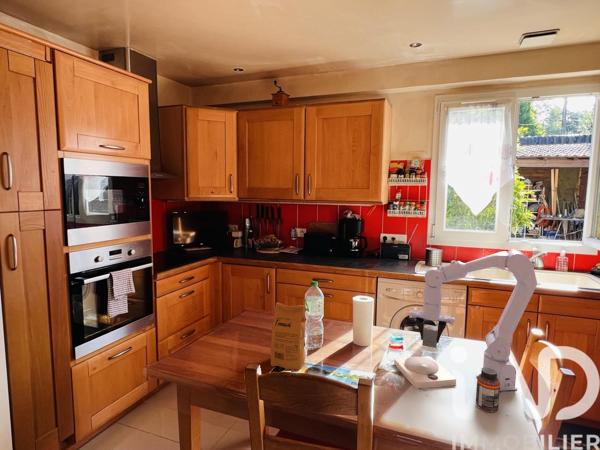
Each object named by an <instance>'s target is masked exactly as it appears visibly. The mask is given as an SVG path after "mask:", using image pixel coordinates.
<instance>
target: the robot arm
mask: <svg viewBox="0 0 600 450" xmlns="http://www.w3.org/2000/svg"><path fill="white" fill-rule="evenodd" d="M506 267H507V269H508V270H509V271H510V272H511V273H512V274H513V277H514V278H515V279H516V285H515V286H514V288H513V290H512V292H511V295H510V297H509V298H508V301H507V302H506V305H505V307H504V309H503V311H502V313H501V315H500V316H499V317H500V318H499V320H498V322H497V324H496V325H494V326H493V328H492V330H491V331H490V332H488V333H487V334H486V335H485V338H484V341H485V344H486V349H485V350H484V353H483V365H482V368H483V367H489V368H492V369H494V370H496V371H497V378H498V379H499V380H500V392H504V391H513V390H514V391H515V390H518V387H517V386H516V381H517V380H516V379H517V370H516V367H515V366H514V365H513V364H512V363H511V361H510V355H511V345H512V343H513V337H514V336H513V335H514V333H515V331H516V328H517V327H518V324H519V323H520V321H521V318H522V316H523V314H524V312H525V310H526V308H527V306H528V304H529V303H530V300H531V298H532V296H533V294H534V292H535V291H536V288H537V286H538V281H537V277H536V271H535V265H534V264H533V262H532V261H531V260H530V258H529V257H528V256H527V255H525V254H524V253H523V252H522V251H520V250H518V249H516V248H515V249H509V250H507V251H506V250H504V251H498V252H496V253H492V254H490V255H489V254H488V255H486V256H482V257H480V258H477V259H474V260H470V261H467V262H462V261H460V260H457V261H456V260H451V261H450V262H449V263H447V264H443V265H440V264H437V265H436V266H435V267H432V266H431V267H428V268H427V270H426V271H425V274H424V281H425V283H424V289H423V303H422V305H423V307H422V311H421V310H420V311H419V310H417V311H415V310H410V311H409V314H408V315H409V318H410V319H413V318H415V323H416V326H417V328H418V331H419V335H420V340H421V341H423V328H424V325H425V321H426V320H427V321H433V322H438V323H437V326H438V335H437V344H439V343H440V339H441V337H442V334H443V332H444V330H445V329H446V326H447V324H450V325H455V317H453V316H448V315H445V314H441V313H442V312H441V311H442V297H443V295H442V294H443V290H442V285H443V283H450V282H452V281H453V282H454V281H457V280H461V279H464V278H466V277H467V276H468V275H467V274H468V273H473V272H478V271H481V270H485V269H491V268H497V269H500V270H502V271H504V270H506ZM478 375H479V374H476V377H478Z"/></svg>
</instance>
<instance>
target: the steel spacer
mask: <svg viewBox="0 0 600 450" xmlns="http://www.w3.org/2000/svg"><path fill="white" fill-rule="evenodd" d="M437 335H438V325H431V324H426V323H424V328H423V340H422V346H424V347H428V348H433V349H434V348H435V349H437V346H438V343H437Z"/></svg>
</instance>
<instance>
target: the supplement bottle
mask: <svg viewBox="0 0 600 450" xmlns="http://www.w3.org/2000/svg"><path fill="white" fill-rule="evenodd" d="M477 375H478V377H477V376H476V377H477V378H476V392H475V393H476V394H475V405H476V407H477V408H478V409H480V410H482V411H484V412H488V413H496V412H498V410H499V407H500V406H499V403H500V393H501V391H500V380H499V379H498V378H497V371H496V370H494V369H492V368H489V367H483V366H482V368H481V370H480V373H479V374H477Z"/></svg>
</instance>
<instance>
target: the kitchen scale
mask: <svg viewBox="0 0 600 450" xmlns="http://www.w3.org/2000/svg"><path fill="white" fill-rule="evenodd" d="M393 364H394V366H395V365H396V366H395V367H396V368H397V369H398V371H400V372H401V374H402V375H403V376H404V377H405V378H406V380H408V381H409V383H410V384H411V385H412V387H414V389H416V390H417V389H425V388H438V387H449V386H450V387H451V386H456V385H457V378H456V377H455V376H453V375H452V374H451V373H450V372H449V371H448V370H447V369H446V368H444V366H442V365H441V364H440V363H439V362H437V361H436V360H435V359H434V357H432V356H431V355H427V356H410V357H400V358H399V357H397V358H394V363H393Z"/></svg>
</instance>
